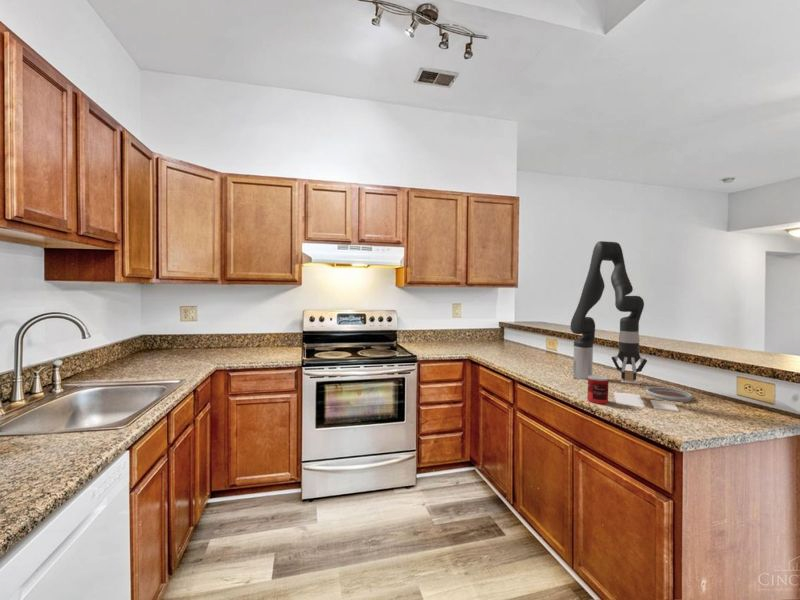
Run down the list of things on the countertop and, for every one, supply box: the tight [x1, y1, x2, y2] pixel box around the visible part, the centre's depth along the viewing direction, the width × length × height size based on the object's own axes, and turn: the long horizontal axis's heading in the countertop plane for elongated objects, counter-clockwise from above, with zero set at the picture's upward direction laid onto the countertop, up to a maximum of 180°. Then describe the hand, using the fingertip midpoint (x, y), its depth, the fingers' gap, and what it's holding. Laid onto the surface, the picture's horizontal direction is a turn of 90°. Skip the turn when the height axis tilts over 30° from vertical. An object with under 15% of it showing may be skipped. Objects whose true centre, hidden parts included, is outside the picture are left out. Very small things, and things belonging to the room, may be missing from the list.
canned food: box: [587, 374, 609, 405], centre depth 155 cm, size 8×8×11 cm
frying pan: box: [637, 382, 694, 403], centre depth 169 cm, size 17×3×28 cm
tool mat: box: [613, 391, 646, 408], centre depth 158 cm, size 10×19×1 cm, turn 153°
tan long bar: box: [620, 370, 641, 385], centre depth 158 cm, size 15×6×5 cm, turn 153°
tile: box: [649, 399, 680, 413], centre depth 149 cm, size 8×2×11 cm
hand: (628, 380), depth 160 cm, fingers closed on tan long bar, 2 cm apart
